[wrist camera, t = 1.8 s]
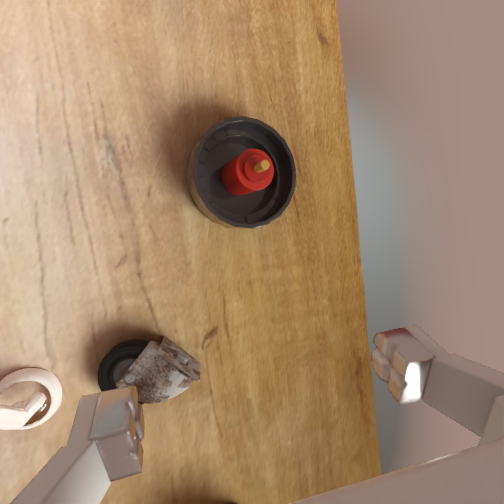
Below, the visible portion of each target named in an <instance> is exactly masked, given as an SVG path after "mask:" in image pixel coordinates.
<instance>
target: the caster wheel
mask: <svg viewBox="0 0 504 504" xmlns="http://www.w3.org/2000/svg"><path fill="white" fill-rule="evenodd" d="M200 369H201V363H200V362H199V361H197V360H196V359H195V358H193V357H192V356H191V355H189V354H188V353H187V352H185V351H184V350H183V349H181V348H180V347H179V346H177V345H176V344H175V343H173V342H172V341H170V340H169V339H168V338H166V337H164V338H163V340H162V342H161V344H160V343H158V342H155V341H149V343H148V342H146V341H142V340H128V341H125V342H122V343H120V344H118V345H117V346H115V347H114V348H113V349H112V350H111V351H110V352H109V353H108V354H107V355H106V356H105V358H104V359H103V361H102V362H101V364H100V367H99V370H98V384H99V387H100V390H101V391H102V392H103V391H108V390H113V389H119V388H124V387H129V386H136V389H137V392H138V403H140V404H141V405H142V404H144V403H159V402H163V401H166V400H168V399H171V398H173V397H175V396H177V395H178V394H180V393H182V392H183V391H185V390H186V389H187V388H188V387H189V386H190V385H191V383H192V382H193V381H194V380H196V381H197V382H199V379H200Z"/></svg>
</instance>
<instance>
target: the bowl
mask: <svg viewBox="0 0 504 504" xmlns="http://www.w3.org/2000/svg"><path fill="white" fill-rule="evenodd" d="M248 149H259V150H261V151H263V152H265V153H266V154H267V155H268V156H269V157H270V159H271V161H272V163H273V167H274V174H273V178H272V181H271V182H270V184H269V185H268V186H267V187H265V188H264V189H261V190H258V191H255V192H252V193H249V194H246V195H242V196H235V195H232V194H230V193H229V192H227V191H226V190H225V188H224V187H223V185H222V182H221V171H222V168H223V167H224V165H225V164H226V163H227V162H229V161H230V160H232V159H233V158H235V157H236V156H238V155H240V154H241V153H243V152H244V151H246V150H248ZM295 181H296V169H295V164H294V159H293V155H292V153H291V151H290V149H289V147H288V145H287V143H286V142H285V140H284V139H283V138H282V137H281V136H280V135H279V134H278V132H277V131H276V130H275V129H273V128H272V127H270V126H269V125H267V124H265V123H264V122H262V121H260V120H258V119H253V118H248V117H244V116H242V117H234V118H227V119H225V120H223V121H221V122H219V123H217V124H215V125H213V126H212V127H211V128H210V129H209V130H208V131H207V133H206V134H205V135H204V136H203V137H202V138H201V139H200V140H199V142H198V143H197V144H196V145H195V146H194V148H193V151H192V153H191V156H190V158H189V161H188V169H187V182H188V186H189V190H190V194H191V196H192V198H193V200H194V201H195V203H196V205H197V206H198V208H199V210H200V211H201V212H202V213H203V214H205V215H206V216H207V217H208V218H209V219H210V220H211V221H213V222H215V223H217V224H219V225H222V226H224V227H226V228H236V229H251V228H256V227H260V226H264V225H267V224H269V223H270V222H272V221H273V220H275V219H276V218H278V217H279V216H280V215H281V214H282V213H283V211H284V210H285V209H286V207H287V206H288V205H289V203H290V201H291V198H292V195H293V193H294V190H295Z"/></svg>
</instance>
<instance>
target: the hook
mask: <svg viewBox="0 0 504 504" xmlns="http://www.w3.org/2000/svg"><path fill="white" fill-rule="evenodd" d="M21 381H35V382H39V383H41V384H43V385H44V386H45V387H46V388H47V389H48V390H49V393H50V395H51V405H50V408H49V410H48V412H47V413H46V414H45V416H44V417H42V418H41V419H39V420H38V421H36V422H34V423H31V424H26V422H27V421H28V420H29V419H30V418H31V417H32V416H33V415H34V414H35V413H36V411H38V410H39V409H40V412H41V411H43V409H44V408H45V407H46V404H45V405H43V404H44V402H45V400H46V396H45V395H44V394H43V393H41V392H35V393H34V394H33V395H32V396H31V397H30V398H29V399H28V400H27V401H26V402H24V401H22V402H17V403H15V404H14V405H13V406H6V405H0V429H6V430H14V429H16V430H23V429H29V428H32V427H35V426H37V425H40V424H42V423H43V422H45V421H46V420H48V419H49V418H50V417H51V416H52V415H53V414H54V413H55V412H56V410H57V409H58V407H59V405H60V403H61V399H62V388H61V385H60V382H59V381H58V379H57V378H56V377H55V376H54V375H53V374H52V373H50V372H48V371H46V370H43V369H40V368H24V369H20V370H17V371H15V372H12V373H10V374H9V375H7V376H5V377H4V378H3V379H2V380H1V381H0V395H1V394H2V392H3V391H4V390H5V389H6V388H8V387H9V386H11V385H12V384H15V383H17V382H21Z"/></svg>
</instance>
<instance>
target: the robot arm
mask: <svg viewBox="0 0 504 504" xmlns="http://www.w3.org/2000/svg"><path fill="white" fill-rule="evenodd" d="M373 343H374V344H375V345H376V348H375V349H374V350H373V351H372V354H371V362H372V366H373V369H374V371H375V373H376V375H377V376H378V377H379V379H381V380H383V381H384V382H387V383H388V390H389V392H390V393H391V394H392V396H393V397H394V398H395V399H396V401H397V402H398V403H399V405H401V404H406V403H410V402H414V401H419V400H423V401H424V402H425V403H427V404H429V405H430V406H431V407H433V408H435V409H436V410H438V411H440V412H441V413H443V414H444V415H446V416H448V417H449V418H451V419H452V420H454V421H456V422H457V423H459V424H460V425H462V426H464V427H465V428H467V429H468V430H470V431H472V432H473V433H475V434H476V435H478V436H480V437H481V439H480V441H479V444H478V446H476V447H472V448H469V449H466V450H463V451H459V452H456V453H452V454H449V455H446V456H442V457H439V458H436V459H433V460H429V461H426V462H423V463H419V464H416V465H413V466H410V467H406V468H403V469H400V470H396V471H393V472H390V473H387V474H383V475H380V476H377V477H373V478H370V479H367V480H364V481H360V482H357V483H354V484H350V485H347V486H344V487H341V488H337V489H334V490H331V491H327V492H324V493H321V494H317V495H314V496H311V497H308V498H304V499H301V500H298V501H294V502H291V503H288V504H504V373H503V372H500V371H497V370H495V369H492V368H490V367H487V366H484V365H482V364H479V363H477V362H474V361H472V360H469V359H467V358H464V357H461V356H459V355H456V354H449V353H448V352H447V351H446V350H444V349H443V348H442V347H441V346H440V345H439V344H438V343H437V342H435V340H433V339H432V338H431V337H430V336H429V335H428V334H426V333H425V331H423V330H422V329H421V328H420V327H418V326H417V325H412V326H407V327H403V328H398V329H394V330H389V331H385V332H380V333H376V335H375V336H374V339H373ZM143 437H144V415H143V409H142V406H141V404H140V403H138V392H137V389H136V386H129V387H124V388H119V389H113V390H108V391H103V392H100V393H94V394H89V395H84V396H82V398H81V399H80V400H79V404H78V408H77V411H76V415H75V418H74V422H73V425H72V429H71V432H70V436H69V440H68V443H67V446H64V447H61V448H60V449H59V450H58V451H57V452H56V454H55V455H54V456H53V457H52V458H51V459H50V460H49V461H48V462H47V464H46V465H45V466H44V467H43V468H42V469H41V470H40V471H39V472H38V473H37V475H36V476H35V477H34V478H33V479H32V480H31V481H30V482H29V483H28V485H27V486H26V487H25V488H24V489H23V490H22V491H21V492H20V493H19V495H18V496H17V497H16V498H15V499H14V500H13V501H12V502H11V503H10V504H99V503H100V502H101V500H102V498H103V497H104V495H105V493H106V492H107V490H108V488H109V486H110V485H111V481H115V480H118V479H122V478H125V477H128V476H132V475H135V474H139V473H142V462H143V448H142V445H141V440H142V439H143Z"/></svg>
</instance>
